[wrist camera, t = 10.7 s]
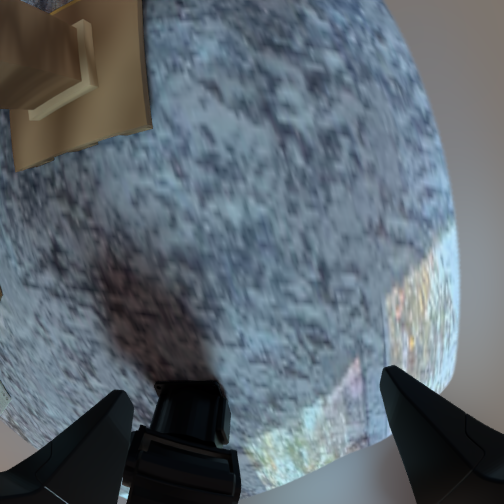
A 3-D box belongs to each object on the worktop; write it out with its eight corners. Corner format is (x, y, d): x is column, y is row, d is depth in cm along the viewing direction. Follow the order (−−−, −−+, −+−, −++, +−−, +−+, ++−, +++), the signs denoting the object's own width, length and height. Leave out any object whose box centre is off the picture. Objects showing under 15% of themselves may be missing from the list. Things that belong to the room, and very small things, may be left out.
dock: (33, 168, 18) (14, 172, 16) (28, 43, 14) (11, 38, 12) (160, 126, 18) (148, 124, 15) (149, -13, 13) (138, -28, 11)
